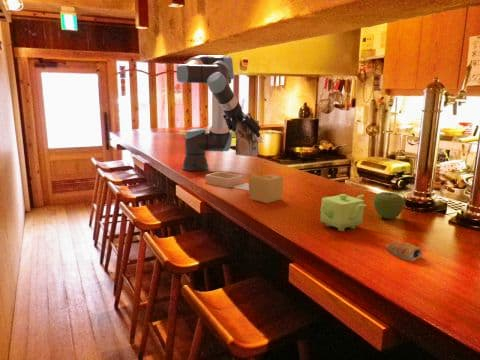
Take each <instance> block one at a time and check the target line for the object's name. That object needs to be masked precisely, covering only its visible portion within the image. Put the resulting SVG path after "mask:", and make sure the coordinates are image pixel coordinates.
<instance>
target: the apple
mask: <svg viewBox="0 0 480 360" xmlns="http://www.w3.org/2000/svg"><path fill="white" fill-rule="evenodd" d="M372 202H373V206H374V208H375V211H376V213H377V215H379V216H380V217H381V218H383V219H384V220H385V219H386V220H394V219H396V218H397V217H399V216H400V214H401V213H402V211H403V210H404V208H405V206H406V204H407V203H406V200H405V198H404V197H403V196H402V195H399V193H397V192H396V193H395V192H391V191H390V192H388V191H387V192H385V191H380V192H379V193H377V194H376V195H375V196H374V198H373V201H372Z"/></svg>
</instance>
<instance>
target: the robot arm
mask: <svg viewBox="0 0 480 360" xmlns="http://www.w3.org/2000/svg"><path fill="white" fill-rule="evenodd" d="M233 64H234V62H233V58H232V57H231V56H229V55H221V54H220V55H219V54H217V55H213V54H209V55H207V54H201V55H196V56H193V57H190V58H188V59H187V61H186V62H185V63H183V64H177V66H176V81H177V82H178V83H183V84H187V83H188V84H190V83H191V84H192V83H194V84H195V83H196V84H206V85H207V87H208V89H209V91H210V92H211V97H212V98H211V102H212V104H211V111H212V112H211V120H212V121H211V126H210V127H209V128H208V129H209V130H206V128H202V127H201V128H194V129H193V128H192V129H188V130H186V131H185V136H184V137H185V138H184V139H185V146H184V147H185V148H184V149H185V155H184V159H183V163H182V166H181V167H182V170H184V171H188V172H202V171H207V170H208V169H209V163H208V159H207V157H206V152H221V153H223V152H228V151H230V149H231V146H232V145H231V144H232V139H233V133H234V134H235V135H236V123H237V122H240V123H241V124H244V125H245V126H246V127H248V128H249V129H250V130H251V131H252V132H253V135H254V137H255V139H256V140H257V142H258V144H260V143H261V142H262V140H263V138H262V137H261V133H260V130H261V129H262V127H261V126H260V124H259V125H258V124H257V123H256V122H255V121H256V120H255V119H254V118H253V117H252V115H251V113H250V112H248V113H244V112H243V108H242V105H241V104H240V102H239V101H238V99H237V96H236V95H235V93H234V92H233V90H232V88H231V86H230V84H231V83H232V80H234V79H235V75H234V65H233ZM243 120H244V121H243Z"/></svg>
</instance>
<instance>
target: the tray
mask: <svg viewBox="0 0 480 360" xmlns="http://www.w3.org/2000/svg"><path fill="white" fill-rule="evenodd" d="M204 180H205V181H204V182H205V184H211V185H214V186H219V187H224V188H231V187H232V188H233V187H234V186H238V185H241V184H244V175H242V174H237V173H236V174H235V173H231V172H225V171H217V172H212V173H209V174H205V179H204Z"/></svg>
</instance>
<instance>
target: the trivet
mask: <svg viewBox="0 0 480 360" xmlns="http://www.w3.org/2000/svg"><path fill="white" fill-rule="evenodd" d="M232 188H233V189H236V190H241V191H245V192H249V182H246V183H245V182H244V183H243V184H239V185H236V186H232Z"/></svg>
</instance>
